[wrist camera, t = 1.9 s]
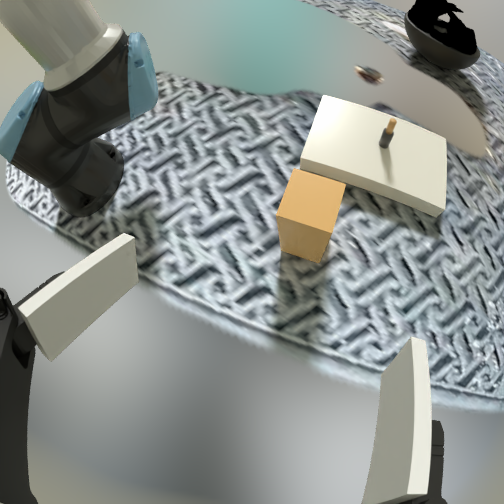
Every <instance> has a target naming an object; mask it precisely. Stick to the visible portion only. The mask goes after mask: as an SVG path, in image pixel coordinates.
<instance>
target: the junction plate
mask: <svg viewBox="0 0 504 504" xmlns="http://www.w3.org/2000/svg"><path fill="white" fill-rule="evenodd" d="M300 169H302V170H306V171H309V172H313V173H316V174H319V175H323V176H326V177H329V178H332V179H335V180H338V181H341V182H345V183H348V184H351V185H353V186H356V187H359V188H362V189H365V190H368V191H371V192H373V193H376V194H379V195H382V196H384V197H387V198H390V199H392V200H395V201H397V202H400V203H403V204H405V205H408V206H410V207H412V208H415V209H417V210H420V211H422V212H424V213H427V214H429V215H431V216H434V217H437V216H438V215H440V214H441V213H442V212H443V211H444V210H445V203H446V179H447V155H446V139H445V138H443V137H441V136H439V135H437V134H435V133H433V132H430V131H428V130H426V129H424V128H421V127H419V126H417V125H414V124H412V123H409V122H407V121H404V120H402V119H399V118H397V117H394V116H391V115H388V114H386V113H383V112H380V111H377V110H374V109H371V108H368V107H365V106H362V105H358V104H355V103H352V102H348V101H345V100H341V99H338V98H334V97H330V96H326V95H323V97H322V100H321V103H320V106H319V108H318V111H317V114H316V117H315V119H314V122H313V125H312V128H311V130H310V133H309V136H308V139H307V141H306V144H305V147H304V149H303V152H302V155H301V158H300Z"/></svg>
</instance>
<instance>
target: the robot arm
mask: <svg viewBox="0 0 504 504" xmlns="http://www.w3.org/2000/svg"><path fill="white" fill-rule="evenodd" d="M0 22H1V23H2V24H3V25H4V26H5V28H6V29H7V30H8V31H9V32H10V33H11V34H12V35H13V36H14V37H15V39H17V41H18V42H19V43H20V44H21V45H22V46H23V47H24V48H25V49H26V50H27V52H29V54H30V55H31V56H32V57H33V58H34V59H35V60H36V61H37V62H38V63H39V64H40V65H41V67H43V68H44V70H45V77H44V83H43V82H40V81H36V82H33V83H32V84H31V85H29V86H28V87H27V88H26V89H25V90H24V92H23V93H22V94H21V95H20V96H19V98H18V99H17V100H16V102H15V103H14V105H13V106H12V107H11V109H10V111H9V112H8V114H7V115H6V117H5V119H4V121H3V123H2V125H1V127H0V154H1V155H2V156H3V157H4V158H6V159H7V161H8V162H9V163H11V164H12V165H14V166H15V167H17V168H18V169H20V170H21V171H23V172H24V173H26V174H27V175H29V176H30V177H32V178H33V179H35V180H36V181H38V182H39V183H41V184H43V185H44V186H46V187H47V188H49V189H50V191H51V192H52V194H53V195H54V197H55V198H56V200H57V201H58V203H59V204H60V205H61V207H62V208H63V209H64V210H65V211H66V212H68V213H70V214H71V215H73V216H76V217H85V216H88V215H91V214H93V213H94V212H96V211H97V210H99V209H100V208H101V207H102V206H103V205H104V204H105V203H106V202H107V201H108V200H109V199H110V198H111V196H112V195H113V193H114V192H115V190H116V189H117V187H118V185H119V182H120V180H121V177H122V174H123V168H124V161H123V157H122V154H121V153H120V151H119V150H118V149H117V148H116V147H115V146H114V145H113V144H111V143H109V142H107V141H105V140H102V139H100V138H97V137H99V136H100V135H102V134H104V133H106V132H108V131H110V130H112V129H114V128H116V127H118V126H120V125H122V124H124V123H126V122H128V121H130V120H132V121H133V120H134V119H135V117H137V116H139V115H141V114H143V113H145V112H147V111H149V110H151V109H152V108H153V107H154V106H155V105H156V103H157V101H158V85H157V80H156V75H155V70H154V66H153V62H152V58H151V54H150V51H149V48H148V45H147V42H146V40H145V38H144V37H143V35H142V34H141V33H140V32H136V33H131V34H130V35H129V36H127V35H126V34H125V32H124V30H123V29H122V27H121V26H120V25H119V24H109V23H103V22H102V20H101V18H100V17H99V15H98V14H97V12H96V11H95V9H94V8H93V6H92V4H91V3H90V1H89V0H0ZM138 282H139V278H138V269H137V259H136V247H135V237H133V236H130V235H128V234H125V233H123V234H121V235H120V236H118V237H116V238H115V239H113V240H112V241H110V242H109V243H107V244H106V245H104V246H102V247H101V248H99V249H98V250H96V251H95V252H93V253H92V254H90V255H89V256H87V257H86V258H84V259H83V260H81V261H80V262H79V263H77V264H76V265H74V266H73V267H71V268H70V269H69V270H67V271H66V272H61V273H59V274H56V275H54V276H52V277H51V278H50V279H48V280H47V281H46V282H45V283H43V284H41V285H40V286H39V288H38V287H37V288H36V289H35V290H34V291H32V292H31V293H29V294H28V295H27V296H26V297H24V298H23V299H22V300H20V301H19V302H18V303H17V304H15V305H12V303H11V301H10V299H9V297H8V294H7V292H6V291H5V290H4V289H3V288H0V503H3V504H38V502H37V500H36V498H35V497H34V496H33V494H32V493H31V491H30V486H29V475H28V460H27V421H28V406H29V395H30V385H31V378H32V371H33V364H34V358H35V345H38V347H39V349H40V350H41V352H42V353H43V354H44V355H45V356H46V357H47V358H48V359H49V360H50V361H51V362H52V361H53V360H54V359H55V358H56V357H57V356H58V355H59V354H60V353H61V352H62V351H63V350H64V349H65V348H66V347H67V346H68V345H69V344H70V343H71V342H73V340H75V339H76V338H77V337H78V336H79V335H80V334H81V333H82V332H83V331H84V330H85V329H86V328H87V327H88V326H90V325H91V324H92V323H93V322H94V321H95V320H96V319H97V318H98V317H100V316H101V315H102V314H103V313H104V312H105V311H106V310H107V309H108V308H110V306H112V305H113V304H114V303H115V302H116V301H117V300H119V299H120V298H121V297H122V296H123V295H124V294H125V293H127V292H128V291H129V290H130V289H131V288H132V287H133V286H135V285H136V284H137V283H138ZM443 446H444V431H443V428H442V426H441V423H440V421H436V420H432V419H431V391H430V377H429V366H428V357H427V349H426V342H425V341H424V340H421V339H418V338H414V337H410V339H409V340H408V341H407V343H406V344H405V345H404V347H403V348H402V349H401V351H400V352H399V353H398V355H397V356H396V357H395V358H394V360H393V361H392V362H391V363H390V365H389V366H388V367H387V368H386V370H385V371H384V372H383V373H382V374H381V386H380V400H379V409H378V418H377V427H376V434H375V440H374V447H373V453H372V458H371V464H370V469H369V474H368V478H367V483H366V487H365V492H364V496H363V500H362V503H361V504H447V502H446V501H445V500H444V499H443V498H442V496H441V488H442V487H441V486H442V477H443V461H444V460H443V459H444V458H443V455H444V448H443Z"/></svg>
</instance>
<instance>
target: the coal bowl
mask: <svg viewBox="0 0 504 504" xmlns="http://www.w3.org/2000/svg"><path fill="white" fill-rule="evenodd" d="M452 11H454V12H462V13H463V11H461V10H460V9H458V8H457V7H456V5H454V4H452V3H448V2H447V0H416V2H415V5H413V6H412V8H411V9H410V10H409V11H408V12H407V13H406V14H405V18H404V21H405V29H406V32H407V35H408V37H409V39H410V41H411V43H412V44H413V46H414V47H415V48H416V50H417V51H418V52H419V53H420V54H421V55H422V56H424V57H425V58H426V59H427V60H429V61H430V62H432V63H434V64H436V65H438V66H440V67H443V68H447V69H453V70H458V69H464V68H467V67H470V66H471V65H473V64H474V63H475V62H476V61H477V60H478V59H479V57H480V51H479V49H478V48H477V45H476V39H475V33H474V30H472V29H470V28H467V27H466V26H465V25H464V24H463V23H462V21H461V20H460V19H458V17H457V16H456V15H455V14H454V13H453V12H452ZM446 13H448V15H449V17H450V21H449V22H445V21H443V20H441V19H439V18H438V17H439V16H441V15H443V14H446Z"/></svg>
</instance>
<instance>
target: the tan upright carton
mask: <svg viewBox="0 0 504 504" xmlns="http://www.w3.org/2000/svg"><path fill="white" fill-rule="evenodd" d="M345 186H346V184H344V183H341V182H338V181H335V180H332V179H329V178H326V177H322V176H319V175H316V174H312V173H309V172H306V171H302V170H299V169H295V168H294V169H293V172H292V175H291V177H290V180H289V182H288V185H287V188H286V190H285V193H284V196H283V198H282V201H281V203H280V206H279V209H278V211H277V214H276V218H277V225H278V232H279V239H280V246H281V251H283V252H286V253H289V254H292V255H295V256H298V257H301V258H304V259H307V260H310V261H313V262H316V263H320V260H321V258H322V256H323V253H324V251H325V249H326V246H327V244H328V242H329V239H330V237H331V235H332V232H333V228H334V225H335V222H336V218H337V215H338V211H339V208H340V204H341V201H342V197H343V193H344V190H345Z"/></svg>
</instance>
